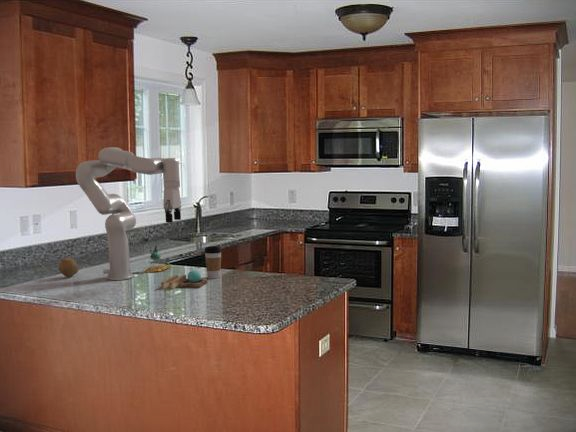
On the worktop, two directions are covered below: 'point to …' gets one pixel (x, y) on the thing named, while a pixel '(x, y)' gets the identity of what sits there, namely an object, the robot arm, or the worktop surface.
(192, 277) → the ball
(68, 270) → the natural sponge
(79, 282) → the worktop surface
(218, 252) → the coffee cup
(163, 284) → the rail
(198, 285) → the tray
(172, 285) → the rail
